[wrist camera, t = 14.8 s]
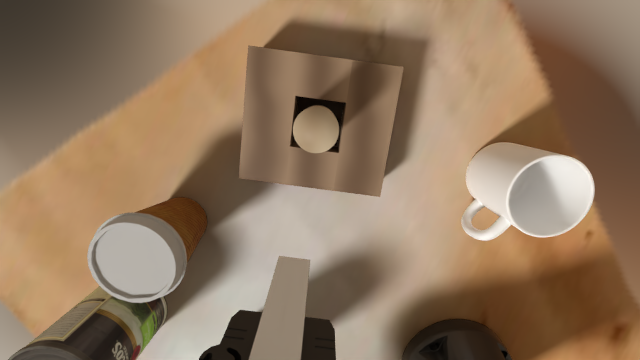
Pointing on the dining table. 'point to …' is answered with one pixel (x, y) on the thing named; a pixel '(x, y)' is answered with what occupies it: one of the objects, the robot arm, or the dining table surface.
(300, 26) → the dining table surface
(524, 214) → the cup
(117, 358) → the coffee can
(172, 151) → the dining table surface
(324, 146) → the peg
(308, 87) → the board
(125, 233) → the disposable coffee cup
